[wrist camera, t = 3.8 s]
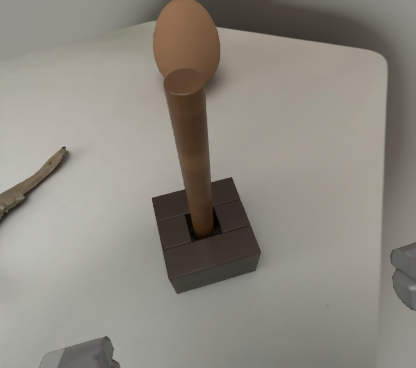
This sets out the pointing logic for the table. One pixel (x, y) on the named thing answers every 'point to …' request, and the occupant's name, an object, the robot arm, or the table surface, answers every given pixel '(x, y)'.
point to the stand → (209, 247)
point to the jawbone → (29, 183)
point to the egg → (186, 39)
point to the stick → (192, 144)
